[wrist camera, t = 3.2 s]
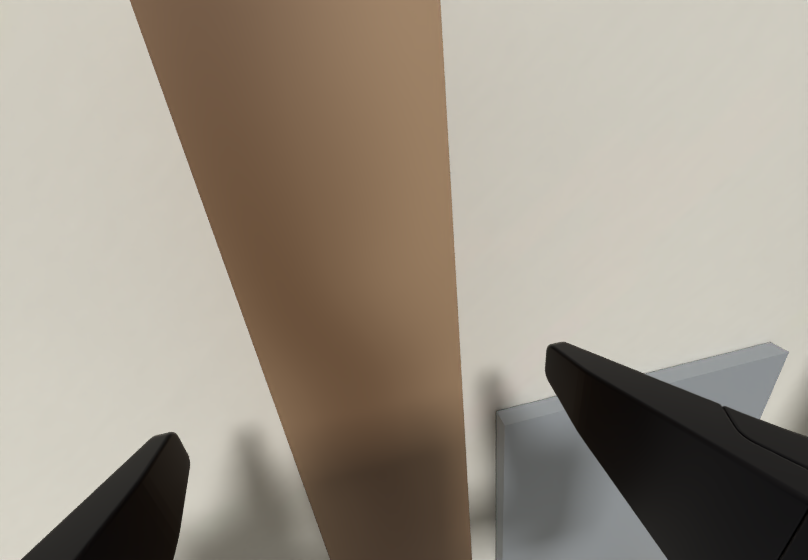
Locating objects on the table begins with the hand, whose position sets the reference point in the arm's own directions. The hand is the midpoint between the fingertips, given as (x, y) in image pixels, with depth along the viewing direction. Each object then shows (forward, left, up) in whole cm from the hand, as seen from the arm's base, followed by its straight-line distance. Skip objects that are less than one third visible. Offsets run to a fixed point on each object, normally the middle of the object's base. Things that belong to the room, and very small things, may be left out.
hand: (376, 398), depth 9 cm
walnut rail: (0, 0, -4) cm, 4 cm away
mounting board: (-12, +18, -4) cm, 22 cm away
